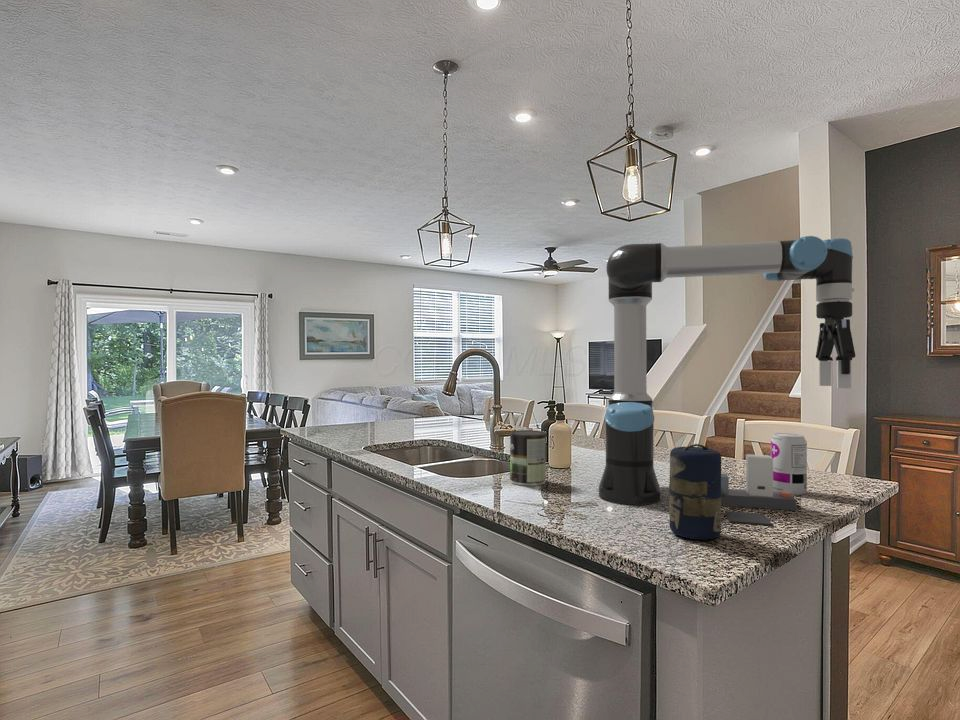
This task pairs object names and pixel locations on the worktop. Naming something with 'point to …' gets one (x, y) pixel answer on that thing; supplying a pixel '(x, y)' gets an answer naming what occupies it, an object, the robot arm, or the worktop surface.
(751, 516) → the mat
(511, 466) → the coffee can
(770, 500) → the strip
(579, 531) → the worktop surface
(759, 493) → the block
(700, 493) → the canister
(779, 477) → the supplement can
